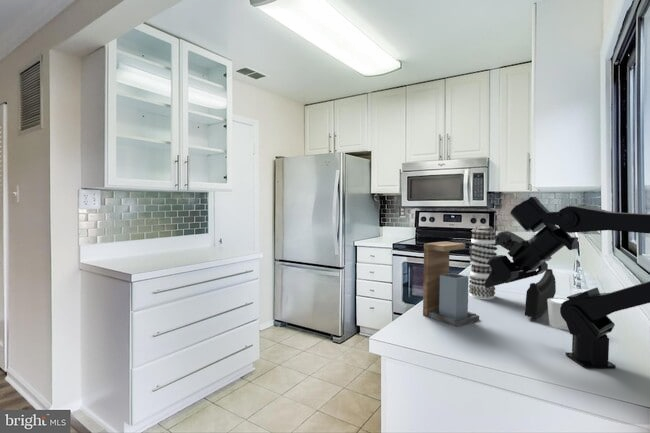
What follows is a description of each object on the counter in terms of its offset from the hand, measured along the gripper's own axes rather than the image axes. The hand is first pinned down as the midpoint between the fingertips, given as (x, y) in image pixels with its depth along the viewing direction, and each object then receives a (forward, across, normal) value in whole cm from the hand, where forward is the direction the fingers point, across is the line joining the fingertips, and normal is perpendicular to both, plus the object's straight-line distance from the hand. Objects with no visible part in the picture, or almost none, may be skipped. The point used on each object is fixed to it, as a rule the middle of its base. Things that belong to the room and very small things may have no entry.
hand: (495, 283), depth 95 cm
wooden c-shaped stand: (+18, 0, 0) cm, 18 cm away
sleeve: (+18, 0, 0) cm, 18 cm away
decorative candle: (+24, -29, -6) cm, 38 cm away
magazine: (+11, -31, +7) cm, 34 cm away
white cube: (+3, -19, +15) cm, 24 cm away
